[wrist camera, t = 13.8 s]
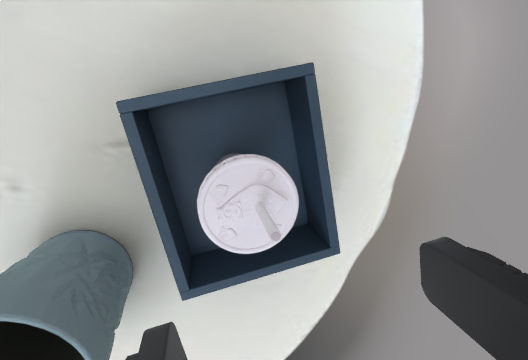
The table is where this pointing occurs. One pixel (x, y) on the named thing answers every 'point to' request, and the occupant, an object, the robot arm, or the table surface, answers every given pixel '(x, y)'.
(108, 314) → the blue-green cup
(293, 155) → the basin
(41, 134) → the table surface
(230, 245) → the smoothie
